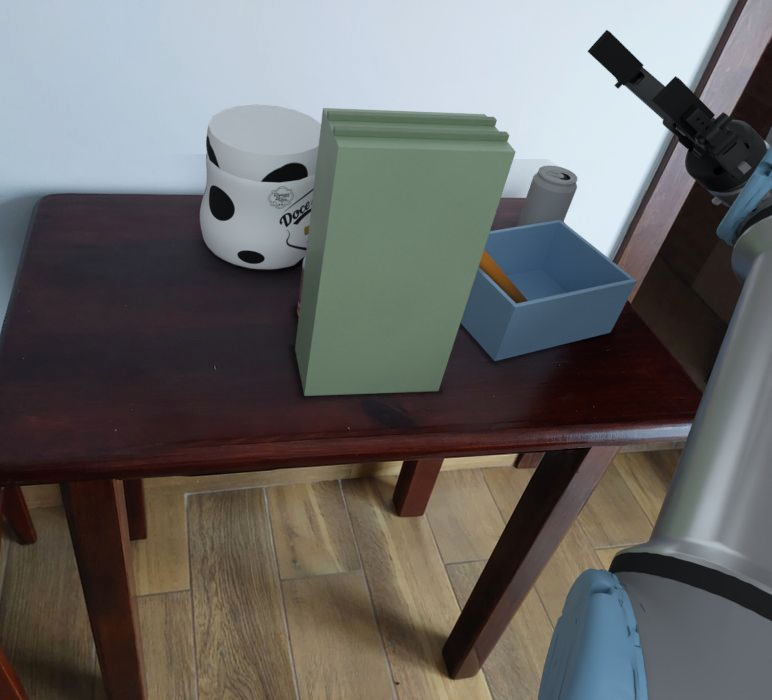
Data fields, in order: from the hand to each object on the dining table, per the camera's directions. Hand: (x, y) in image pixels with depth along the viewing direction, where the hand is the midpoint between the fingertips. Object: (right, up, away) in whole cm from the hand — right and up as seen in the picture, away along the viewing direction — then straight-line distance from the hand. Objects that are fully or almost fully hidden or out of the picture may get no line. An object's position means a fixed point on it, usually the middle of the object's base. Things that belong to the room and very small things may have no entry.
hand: (629, 63), depth 69 cm
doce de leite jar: (-40, -14, +30) cm, 51 cm away
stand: (-26, -32, +12) cm, 43 cm away
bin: (-4, -24, +24) cm, 34 cm away
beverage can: (+3, -12, +38) cm, 40 cm away
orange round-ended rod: (-10, -20, +17) cm, 28 cm away
